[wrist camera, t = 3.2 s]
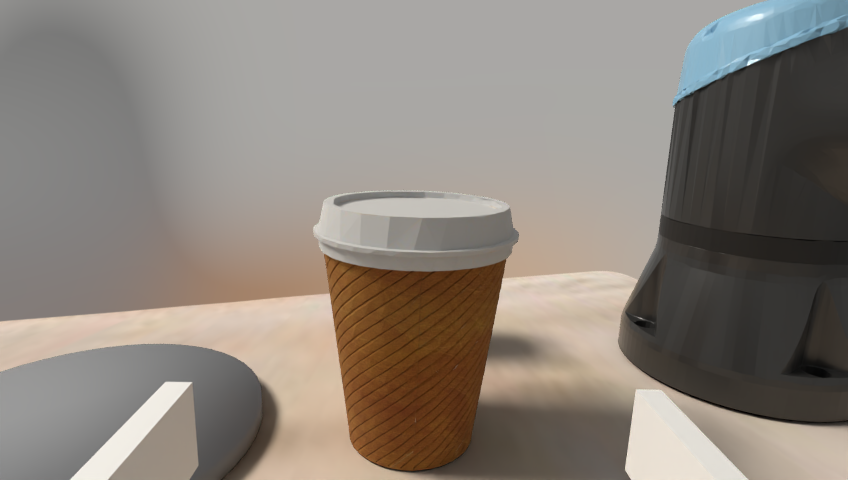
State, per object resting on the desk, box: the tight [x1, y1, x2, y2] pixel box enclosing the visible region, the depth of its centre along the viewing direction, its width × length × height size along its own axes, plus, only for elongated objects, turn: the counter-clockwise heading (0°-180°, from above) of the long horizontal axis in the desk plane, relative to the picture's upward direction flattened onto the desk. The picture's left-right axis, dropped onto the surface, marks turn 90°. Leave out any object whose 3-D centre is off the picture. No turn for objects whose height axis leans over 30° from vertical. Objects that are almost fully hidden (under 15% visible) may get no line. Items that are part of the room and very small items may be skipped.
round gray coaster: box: [0, 344, 263, 480], centre depth 24 cm, size 17×17×1 cm
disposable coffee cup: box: [313, 191, 519, 471], centre depth 24 cm, size 10×10×12 cm
